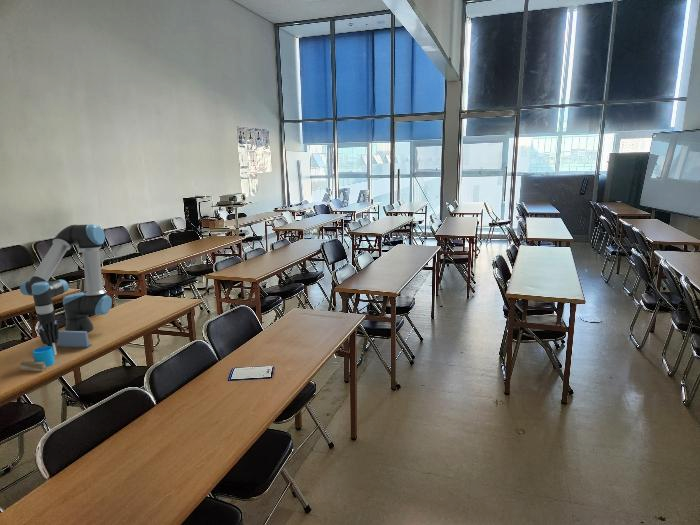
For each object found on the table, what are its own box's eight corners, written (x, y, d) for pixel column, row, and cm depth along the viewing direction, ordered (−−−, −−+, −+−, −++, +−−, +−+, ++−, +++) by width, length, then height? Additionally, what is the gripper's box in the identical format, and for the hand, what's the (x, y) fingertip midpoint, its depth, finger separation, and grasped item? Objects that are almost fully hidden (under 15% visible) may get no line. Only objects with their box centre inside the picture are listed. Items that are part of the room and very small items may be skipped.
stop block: (24, 368, 225) (23, 361, 224) (46, 369, 223) (44, 361, 222) (21, 370, 223) (19, 362, 222) (42, 371, 221) (41, 363, 221)
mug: (52, 366, 227) (49, 351, 225) (33, 369, 224) (30, 354, 222) (58, 356, 238) (55, 342, 236) (40, 359, 235) (37, 344, 233)
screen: (63, 344, 254) (60, 329, 252) (92, 345, 252) (89, 330, 250) (58, 346, 251) (55, 331, 249) (87, 347, 248) (84, 332, 246)
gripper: (48, 307, 237) (56, 349, 242) (28, 316, 224) (37, 359, 230) (61, 308, 236) (69, 349, 241) (41, 316, 223) (50, 360, 229)
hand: (53, 354), depth 235 cm, fingers closed
